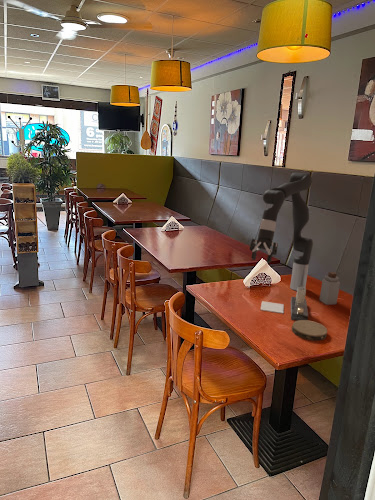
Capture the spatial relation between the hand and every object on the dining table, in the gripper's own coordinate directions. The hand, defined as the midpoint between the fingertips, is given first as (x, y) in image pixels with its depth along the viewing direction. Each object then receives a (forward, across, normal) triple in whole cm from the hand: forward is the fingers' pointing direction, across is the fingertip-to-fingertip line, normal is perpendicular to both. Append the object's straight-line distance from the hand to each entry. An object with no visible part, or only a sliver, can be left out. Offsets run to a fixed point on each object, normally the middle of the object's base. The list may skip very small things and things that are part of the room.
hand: (260, 261), depth 186 cm
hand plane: (+23, -12, -29) cm, 39 cm away
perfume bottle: (+16, -17, -55) cm, 60 cm away
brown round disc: (+29, -27, -12) cm, 41 cm away
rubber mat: (+24, 0, -23) cm, 33 cm away
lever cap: (+19, -12, -28) cm, 36 cm away
